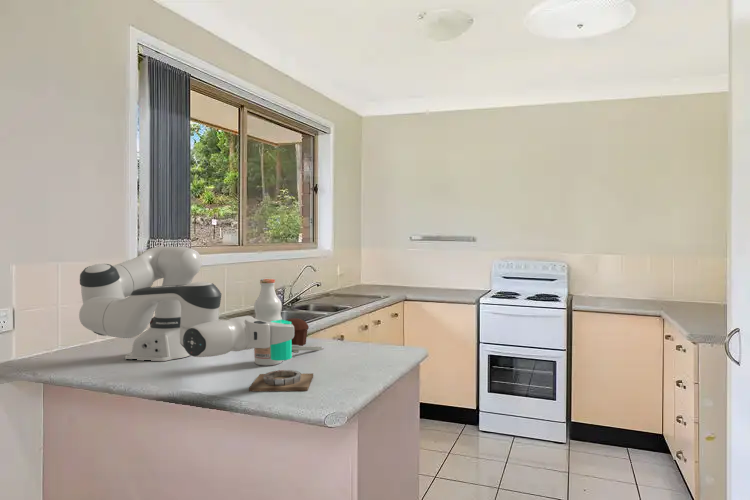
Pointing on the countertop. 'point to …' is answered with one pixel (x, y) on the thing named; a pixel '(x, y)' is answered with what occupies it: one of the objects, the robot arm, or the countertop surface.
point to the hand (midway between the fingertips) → (283, 325)
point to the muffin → (299, 331)
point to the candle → (281, 347)
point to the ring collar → (271, 380)
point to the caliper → (305, 348)
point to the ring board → (299, 386)
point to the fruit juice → (267, 317)
